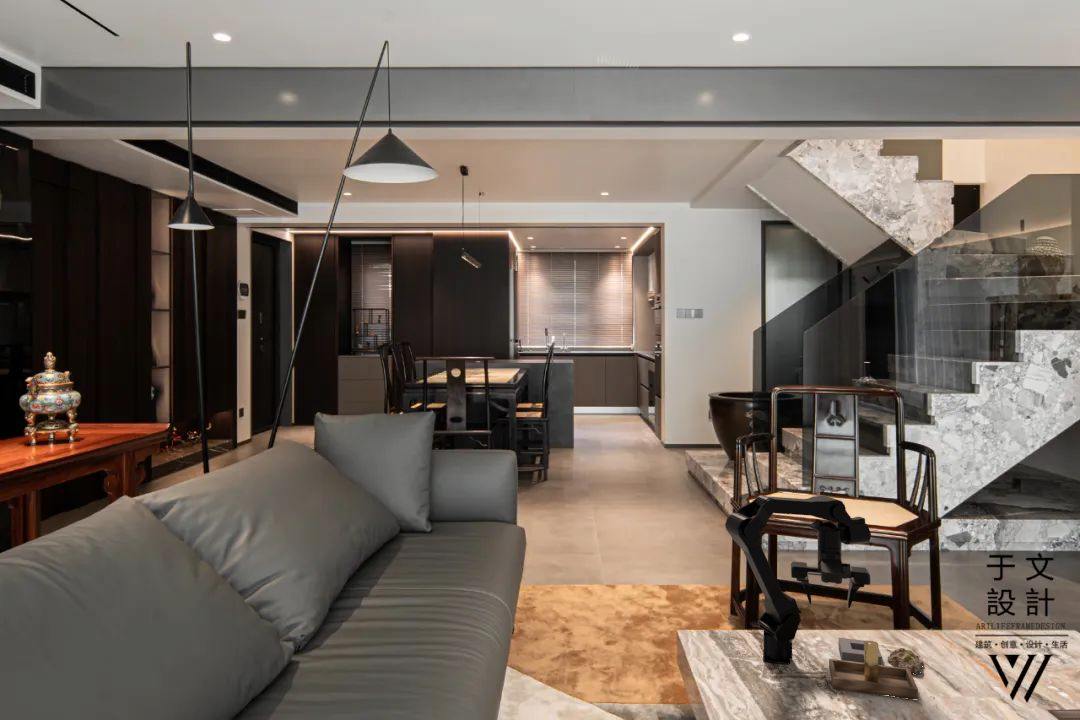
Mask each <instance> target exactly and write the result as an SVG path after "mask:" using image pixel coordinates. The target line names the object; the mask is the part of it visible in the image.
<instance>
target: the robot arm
mask: <svg viewBox="0 0 1080 720" xmlns="http://www.w3.org/2000/svg"><path fill="white" fill-rule="evenodd" d="M774 514H779V515H782V514H783V515H795V516H796V515H797V516H798V515H799V516H810V517H814V518H816V519H815V520H814V522H812V523H811V524H810V525H809V528H810V529H814V530H816V531H817V566H816V567H814V566H811V567H810V566H808V564H807V562H804V561H803V562H801V561H792V562H791V563H790V576H791V578H793V579H796V581H797V582H800V583H801V584H802V586H803V588H804V591H805V594H806V597H807V599H808V600H807V601H808V603H809V605H812V596H811V586H810V581H809V575H810V576H820V580H821V582H822V583H825V584H828V583H833V584H836V585H840V584H842V583H843V579H844V580H845V579H849V581H848V589H847V590H848V591H847V601H846V602H847V608H848V609H850V608H851V605H852V603H853V601H854V599H855V598H854V597H855V595H856V594H857V592H858V590H859V589H861V588H865V587H866V585H867V586H870V585H871V574H870V572H869V570H868V568H866V567H862V566H861V567H860V566H851V563H846V562H845V563H844V562H843V561H842V544H843V545H846V546H850V545H860V544H861V545H863V544H868V543H869V542H871V539H872V533H871V531H870V527H869V525H868V523H866V518H865V517H862V516H854V517H851V516H850V514H849V513H848V511H847V509H846V505H845V503H844V502H843V501H842V500H840V499H836V498H833V497H831V496H827V495H825V494H824V495H816V496H815V495H814V496H811V497H808V498H798V497H797V498H796V497H795V498H794V497H782V496H781V497H779V496H767V495H764V494H760V495H758V496H757V497H755V498H754V499H753V500H752V501H751V502H748V503H747V504H745V505H743V506H741V507H740V508H738V509H737V511H735V512H734V513H731V514H730V515H729V516H728V517H727V519H726V521H725V524H724V526H725V529H726V532H727V534H729V535H730V537H731V538H732V540H733V541H734V542H735V543H736V545H738V547H740V548H741V550H742V551H743V554H744V555H745V559H746V560H747V562H748V564H749V566H750V568H751V570H752V572H753V575H754V577H755V578H756V579H755V580H756V581H757V584H758V585H759V588H760V590H761V592H762V594H763V597H764V603H763V604H764V605H763V606H764V609H765V612H763V613H762V615H761V616H760V617H759V618H758V619H757V625H758V628H759V629H761V630H762V631H763V649H762V661H763V662H768V663H774V664H775V663H776V664H784V665H791V660H793V640H795V637H796V635H797V632H798V629H799V626H800V624H801V621H802V617H801V614H802V611H801V610H800V609H799V607H798V604H797V601H796V599H795V598H794V597H793V596H790V595H789V594H787V593H786V592H784V591H783V590H782V588H781V586H780V584H779V582H778V580H777V577H776V575H775V573H774V571H773V569H772V566H771V565H770V562H769V560H768V559H767V555H766V554H765V552H764V550H763V548H762V533H761V531H762V530H763V529H765V527H766V526H767V523H768V522H769V520H770V518H771V516H772V515H774ZM820 519H821V520H820ZM823 520H825V521H823Z"/></svg>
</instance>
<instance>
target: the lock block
mask: <svg viewBox="0 0 1080 720" xmlns="http://www.w3.org/2000/svg"><path fill="white" fill-rule="evenodd" d="M865 641H866V640H864V639H856V638H846V637H838V652H839V657H840V660H845V661H853V662H861V663H864V642H865ZM878 665H883V657H882V653H881V651H880V648H879V646H878Z"/></svg>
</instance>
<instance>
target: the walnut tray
mask: <svg viewBox="0 0 1080 720" xmlns="http://www.w3.org/2000/svg"><path fill="white" fill-rule="evenodd" d="M828 669H829V676H830V681H831V682H830V683H831V686H832V689H833V690H838V691H845V692H853V693H860V694H866V695H867V694H868V695H873V694H875V695H874V696H880V695H889V696H895V697H899V698H898V699H902V698H908V699H907V700H909V699H918V700H919V688H918V686H917V684H916V681H915V679H914V677H913V674H911V672H910V670H909V669H908V668H900V667H895V666H893V665H883V664H882V665H878V683H877V682H869V681H864V663H861V662H853V661H845V660H841V659H836V658H828ZM895 697H894V698H895Z"/></svg>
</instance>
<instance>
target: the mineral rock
mask: <svg viewBox="0 0 1080 720" xmlns="http://www.w3.org/2000/svg"><path fill="white" fill-rule="evenodd" d="M888 661H889V663H890V664H891V666H893V665H894V666H893V667H900V668H908V669H909V670H910V672H911V673H914V674H917V675H919V674H918V673H920V672H921V673H922V669H921V668H923V667H924V666H925V664H924V663H925V662H924V661H923V660H921V659H920V657H919V656H918V655H916V654H915V653H914V651H912V650H911V649H906V648H904V647H899V648H897V649H894V651H891V653H889V656H887V662H888ZM922 666H923V667H922ZM920 667H921V668H920Z"/></svg>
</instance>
